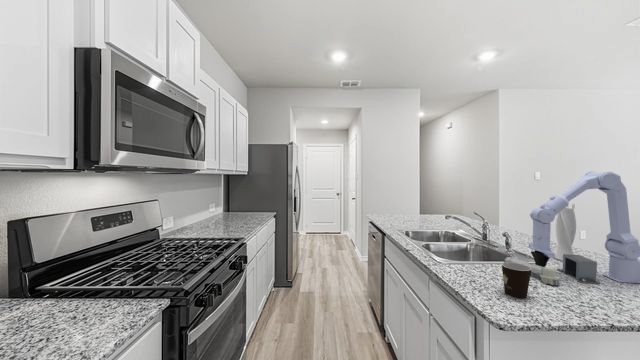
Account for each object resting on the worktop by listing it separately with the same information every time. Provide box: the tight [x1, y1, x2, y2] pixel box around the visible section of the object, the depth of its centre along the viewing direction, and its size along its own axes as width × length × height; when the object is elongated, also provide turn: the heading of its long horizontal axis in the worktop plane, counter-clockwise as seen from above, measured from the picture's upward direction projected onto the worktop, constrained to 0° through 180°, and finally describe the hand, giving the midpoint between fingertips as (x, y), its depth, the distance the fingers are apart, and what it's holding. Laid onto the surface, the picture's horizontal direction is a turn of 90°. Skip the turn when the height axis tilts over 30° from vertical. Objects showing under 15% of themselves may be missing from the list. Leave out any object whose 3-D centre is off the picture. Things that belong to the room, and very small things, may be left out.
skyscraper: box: [553, 202, 577, 263], centre depth 137 cm, size 8×8×28 cm
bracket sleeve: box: [557, 254, 601, 285], centre depth 117 cm, size 6×14×8 cm, turn 170°
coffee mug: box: [501, 262, 532, 300], centre depth 101 cm, size 12×9×10 cm
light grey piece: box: [503, 256, 561, 286], centre depth 120 cm, size 5×7×25 cm
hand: (540, 269), depth 119 cm, fingers closed
